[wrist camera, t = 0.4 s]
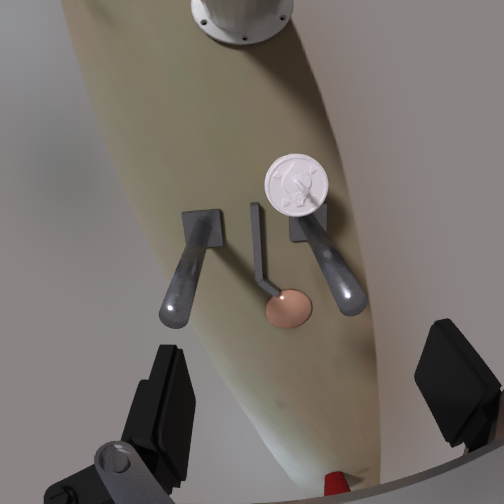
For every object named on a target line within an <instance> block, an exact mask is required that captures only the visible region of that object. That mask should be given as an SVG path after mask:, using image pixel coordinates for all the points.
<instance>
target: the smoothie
mask: <svg viewBox="0 0 504 504" xmlns="http://www.w3.org/2000/svg"><path fill="white" fill-rule="evenodd" d="M265 192H266V195H267V198H268V199H269V201H270V203H271V204H272V205H273V207H274V208H275V209H276V210H278V211H279V212H281V213H283V214H285V215H288V216H293V217H300V216H305V215H308V214H310V213H312V212H314V211H315V210H317V209H318V208H319V207H320V206H321V205H322V203H323V202H324V200H325V198H326V196H327V192H328V179H327V175H326V173H325V171H324V169H323V168H322V166H321V165H320V164H319V163H318V162H317V161H316V160H314V159H313V158H311V157H309V156H307V155H303V154H290V155H286V156H283V157H280V158H278V159H276V160H275V161H274V162H273V164H272V166H271V167H270V169H269V170H268V172H267V174H266V179H265Z"/></svg>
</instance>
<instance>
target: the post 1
mask: <svg viewBox="0 0 504 504" xmlns="http://www.w3.org/2000/svg"><path fill="white" fill-rule="evenodd" d="M182 221H183V227H184V234H185V240H186V247H185V249H184V251H183V254H182V256H181V258H180V261H179V263H178V266H177V268H176V271H175V273H174V276H173V278H172V280H171V283H170V285H169V288H168V291H167V293H166V296H165V298H164V301H163V303H162V306H161V308H160V311H159V318H160V320H161V322H162V323H163V324H164V325H166V326H167V327H169V328H173V329H180V328H183V327H184V326H185V325H186V324H187V323H188V321H189V316H190V312H191V308H192V304H193V300H194V296H195V292H196V288H197V284H198V280H199V276H200V272H201V268H202V265H203V261H204V257H205V253H206V249H207V247H215V246H223V236H222V227H221V217H220V209H209V210H198V211H187V212H182Z"/></svg>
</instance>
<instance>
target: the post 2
mask: <svg viewBox="0 0 504 504" xmlns="http://www.w3.org/2000/svg"><path fill="white" fill-rule="evenodd" d="M289 232H290V241H302V240H307V241H308V243H309V245H310V247H311V249H312V251H313V253H314V255H315V257H316V260H317V262H318V264H319V266H320V268H321V270H322V272H323V274H324V277H325V279H326V281H327V283H328V285H329V287H330V290H331V292H332V294H333V296H334V298H335V301H336V303H337V305H338V307H339V310H340V312H341V313H342V314H343V315H345V316H355V315H358V314H359V313H361V312H362V311H363V310H364V309H365V308H366V306H367V302H368V300H367V296H366V295H365V293H364V291H363V290H362V288H361V286H360V285H359V283H358V282H357V280H356V278H355V277H354V275H353V273H352V272H351V270H350V269H349V267H348V266H347V264H346V262H345V261H344V259H343V258H342V256H341V255H340V253H339V252H338V250H337V248H336V247H335V245H334V244H333V242H332V241H331V239H330V238H329V236H328V235H327V203H326V202H323V203H322V205H321V206H320V207H319V208H318V209H317V210H315V211H314V212H312V213H310V214H308V215H305V216H300V217H293V216H289Z"/></svg>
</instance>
